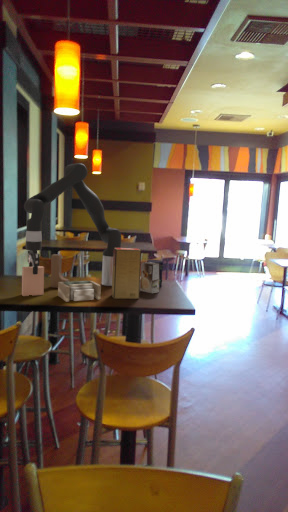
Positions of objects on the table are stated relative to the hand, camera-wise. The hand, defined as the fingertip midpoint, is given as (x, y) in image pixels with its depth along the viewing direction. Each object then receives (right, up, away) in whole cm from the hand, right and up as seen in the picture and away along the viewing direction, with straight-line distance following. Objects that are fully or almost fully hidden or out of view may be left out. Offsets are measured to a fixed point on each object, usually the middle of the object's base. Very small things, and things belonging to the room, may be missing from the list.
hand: (33, 272), depth 195 cm
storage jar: (+61, -10, +41) cm, 74 cm away
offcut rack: (+23, -12, +1) cm, 26 cm away
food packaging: (+45, -13, +7) cm, 48 cm away
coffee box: (+58, -12, +24) cm, 64 cm away
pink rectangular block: (-1, -11, +1) cm, 11 cm away
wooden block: (+8, -9, +22) cm, 25 cm away
